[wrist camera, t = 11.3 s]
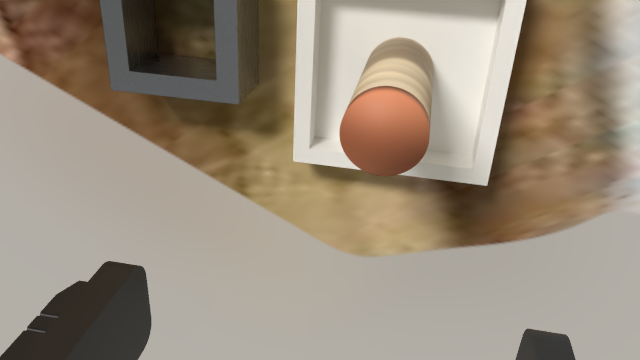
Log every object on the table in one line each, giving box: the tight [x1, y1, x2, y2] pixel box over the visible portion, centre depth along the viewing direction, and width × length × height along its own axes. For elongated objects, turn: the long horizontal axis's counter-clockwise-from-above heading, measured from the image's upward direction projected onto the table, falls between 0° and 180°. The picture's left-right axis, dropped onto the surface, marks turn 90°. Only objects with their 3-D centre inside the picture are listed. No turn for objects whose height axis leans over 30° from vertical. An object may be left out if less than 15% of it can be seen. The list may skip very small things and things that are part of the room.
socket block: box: [100, 0, 258, 104], centre depth 34 cm, size 8×8×4 cm
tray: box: [293, 0, 527, 186], centre depth 33 cm, size 12×12×2 cm
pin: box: [339, 37, 434, 176], centre depth 30 cm, size 4×4×10 cm
